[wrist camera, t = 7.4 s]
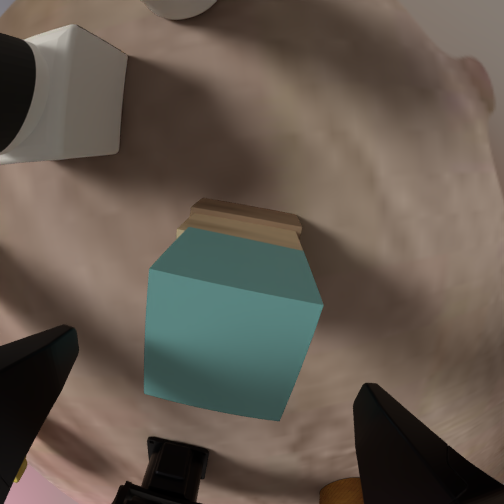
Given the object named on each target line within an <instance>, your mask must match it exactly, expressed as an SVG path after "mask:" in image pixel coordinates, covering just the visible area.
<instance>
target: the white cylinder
mask: <svg viewBox="0 0 504 504" xmlns="http://www.w3.org/2000/svg"><path fill="white" fill-rule="evenodd" d="M141 1H142V2H143V3H144V4H145V5H146V6H147V7H148V8H149V10H150V11H152V12H153V13H154V14H156V15H157V16H159V17H162V18H165V19H171V20H181V19H187V18H191V17H194V16H197V15H199V14H201V13H203V12H204V11H206V10H208V9H209V8H210V7H211V6H213V5H214V3H215V2H216V1H217V0H141Z"/></svg>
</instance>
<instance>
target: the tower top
mask: <svg viewBox="0 0 504 504" xmlns="http://www.w3.org/2000/svg"><path fill="white" fill-rule="evenodd" d="M188 227H193V228H198V229H202V230H207V231H212V232H217V233H222V234H226V235H231V236H236V237H241V238H245V239H250V240H255V241H260V242H264V243H269V244H274V245H278V246H283V247H288V248H292V249H297V250H302V251H303V249H302V247H301V244H300V241H299V239H298V236H297V234H296V231H290V230H285V229H280V228H274V227H269V226H264V225H258V224H253V223H247V222H241V221H236V220H230V219H224V218H219V217H213V216H207V215H201V214H195V213H194V214H193V215H192V216H191V217H190V218H188V219H187V220H186V221H185V222H184V223H183V224H182V225H181V226H180V227H179V228H178V229H177V234H176V239H177V238H178V237H179V236H180V235H181V234H182V233H183V232H184V231H185V230H186V229H187V228H188Z"/></svg>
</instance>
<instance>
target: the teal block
mask: <svg viewBox="0 0 504 504" xmlns="http://www.w3.org/2000/svg"><path fill="white" fill-rule="evenodd" d="M322 308H323V302H322V299H321V296H320V294H319V291H318V288H317V285H316V283H315V280H314V277H313V275H312V272H311V269H310V267H309V264H308V261H307V259H306V256H305V253H304V251H302V250H297V249H292V248H288V247H283V246H278V245H274V244H269V243H264V242H260V241H255V240H250V239H245V238H241V237H236V236H231V235H226V234H222V233H217V232H212V231H207V230H202V229H198V228H193V227H188V228H187V229H186V230H185V231H184V232H183V233H182V234H181V235H180V236H179V237H178V238H177V239H176V241H175V242H174V243H173V244H172V245H171V246H170V247H169V248H168V249H167V250H166V251H165V252H164V253H163V254H162V255H161V256H160V258H159V259H158V260H157V261H156V262H155V263H154V264H153V265H152V266H151V267H150V268H149V278H148V291H147V306H146V324H145V350H144V394H147V395H151V396H155V397H158V398H162V399H166V400H169V401H173V402H177V403H181V404H186V405H190V406H194V407H199V408H203V409H208V410H213V411H218V412H223V413H228V414H234V415H240V416H246V417H252V418H258V419H265V420H273V421H280V419H281V416H282V414H283V412H284V409H285V407H286V404H287V402H288V400H289V397H290V395H291V392H292V390H293V387H294V385H295V382H296V380H297V377H298V375H299V372H300V369H301V367H302V364H303V361H304V359H305V356H306V353H307V351H308V348H309V345H310V343H311V340H312V337H313V334H314V331H315V329H316V326H317V323H318V320H319V317H320V314H321V311H322Z"/></svg>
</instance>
